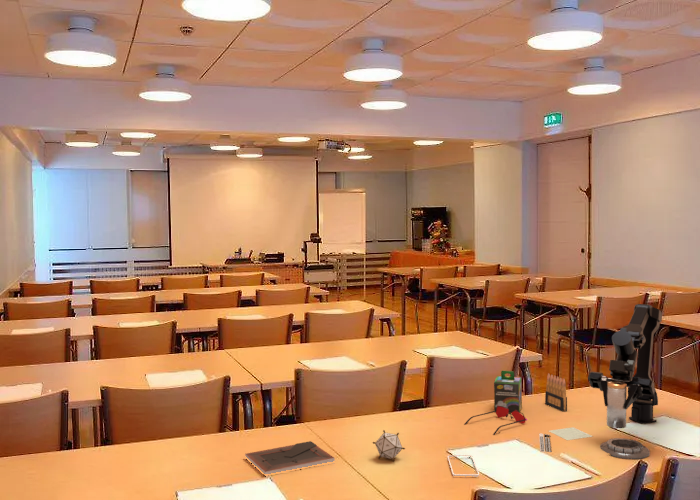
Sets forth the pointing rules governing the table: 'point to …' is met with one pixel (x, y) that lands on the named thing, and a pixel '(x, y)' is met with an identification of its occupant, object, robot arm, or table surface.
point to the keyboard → (546, 449)
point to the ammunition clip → (556, 393)
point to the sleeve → (616, 404)
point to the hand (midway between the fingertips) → (615, 407)
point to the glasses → (504, 413)
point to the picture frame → (289, 457)
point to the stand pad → (570, 433)
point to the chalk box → (508, 392)
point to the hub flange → (625, 448)
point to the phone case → (463, 474)
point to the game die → (388, 445)
